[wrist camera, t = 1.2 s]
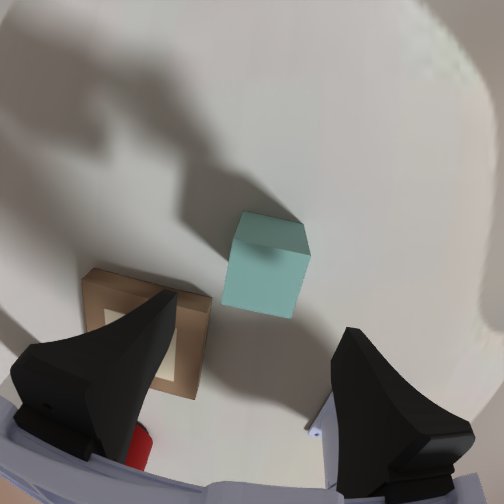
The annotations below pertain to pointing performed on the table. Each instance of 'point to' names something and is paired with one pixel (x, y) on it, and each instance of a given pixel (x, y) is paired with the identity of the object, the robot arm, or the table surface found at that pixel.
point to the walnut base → (185, 335)
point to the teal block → (266, 265)
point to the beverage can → (139, 449)
